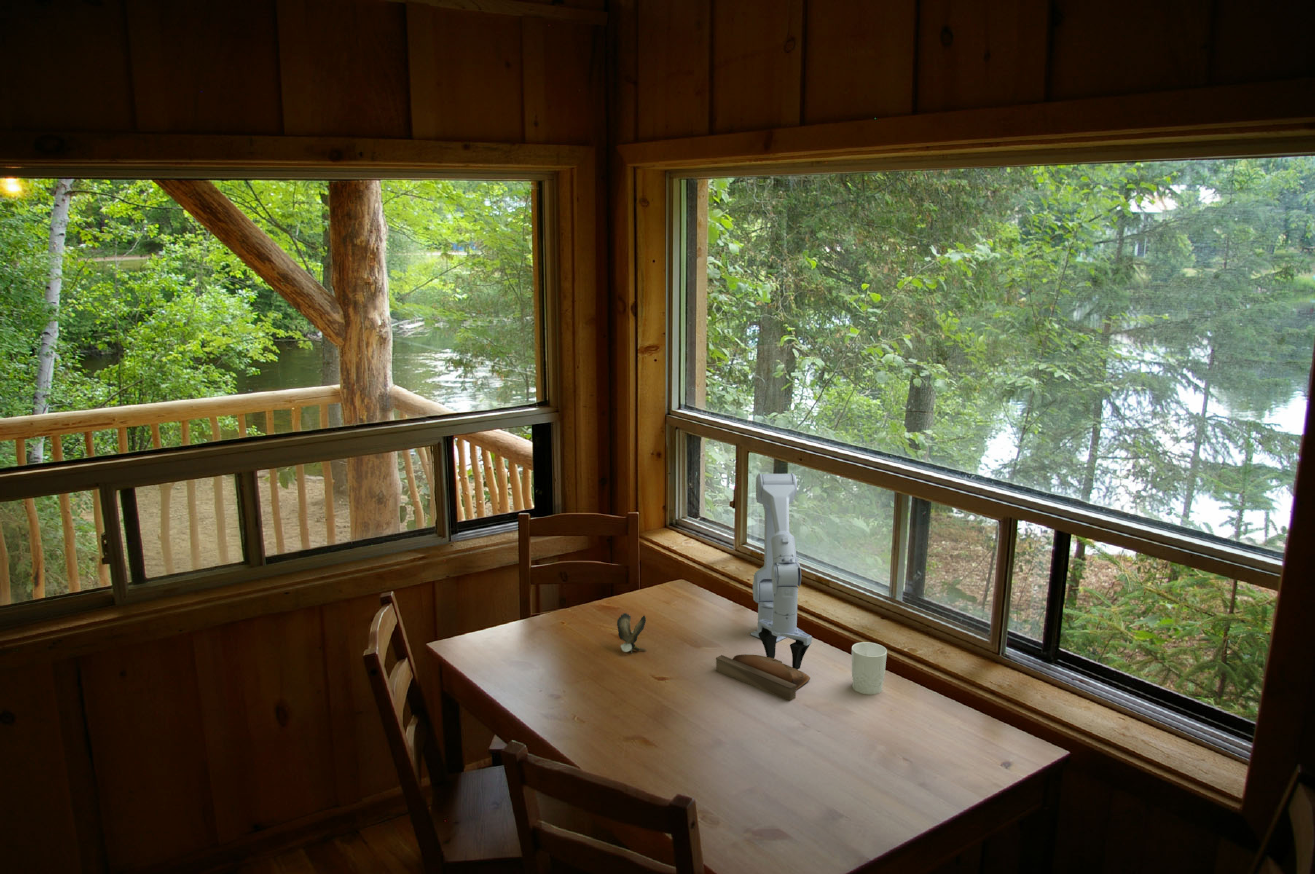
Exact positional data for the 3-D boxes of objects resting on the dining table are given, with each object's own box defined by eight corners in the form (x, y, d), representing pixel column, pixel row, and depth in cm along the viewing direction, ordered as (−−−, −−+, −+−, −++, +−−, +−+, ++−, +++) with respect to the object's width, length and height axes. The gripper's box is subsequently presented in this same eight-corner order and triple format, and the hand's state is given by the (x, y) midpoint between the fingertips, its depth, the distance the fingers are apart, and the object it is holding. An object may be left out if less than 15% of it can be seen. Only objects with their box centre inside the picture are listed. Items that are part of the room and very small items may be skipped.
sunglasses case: (813, 676, 209) (803, 659, 205) (798, 700, 205) (789, 684, 202) (751, 654, 221) (742, 639, 217) (737, 677, 218) (727, 662, 214)
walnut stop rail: (721, 667, 216) (721, 654, 215) (796, 698, 201) (796, 684, 200) (715, 670, 215) (715, 657, 214) (790, 702, 199) (790, 688, 199)
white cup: (845, 692, 204) (847, 652, 202) (855, 679, 211) (856, 639, 209) (880, 700, 200) (882, 659, 198) (888, 686, 207) (890, 646, 205)
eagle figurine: (647, 644, 229) (647, 611, 228) (646, 656, 222) (646, 622, 221) (617, 644, 230) (617, 611, 228) (615, 655, 223) (615, 622, 221)
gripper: (750, 607, 215) (749, 659, 217) (800, 624, 205) (798, 678, 207) (768, 599, 220) (767, 651, 222) (817, 615, 210) (815, 669, 212)
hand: (783, 663), depth 215 cm, fingers open, 7 cm apart
